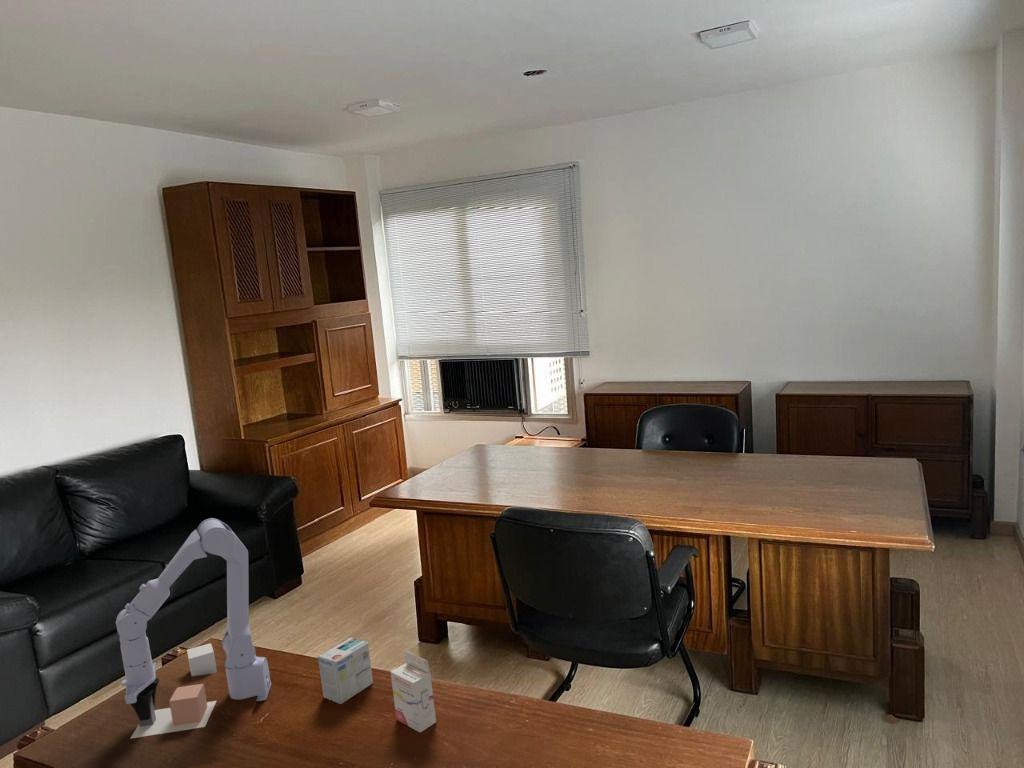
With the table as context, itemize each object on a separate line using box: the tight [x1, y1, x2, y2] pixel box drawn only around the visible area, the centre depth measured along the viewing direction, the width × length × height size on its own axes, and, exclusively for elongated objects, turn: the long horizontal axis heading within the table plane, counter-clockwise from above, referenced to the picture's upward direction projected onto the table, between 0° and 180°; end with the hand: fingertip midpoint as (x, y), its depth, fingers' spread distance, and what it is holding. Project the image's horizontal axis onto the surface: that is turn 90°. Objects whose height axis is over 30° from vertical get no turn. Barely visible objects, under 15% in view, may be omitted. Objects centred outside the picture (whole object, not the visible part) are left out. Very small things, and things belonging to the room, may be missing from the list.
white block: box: [186, 643, 218, 677], centre depth 202 cm, size 6×6×6 cm
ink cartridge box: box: [390, 650, 437, 733], centre depth 169 cm, size 9×5×15 cm, turn 47°
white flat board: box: [129, 696, 217, 739], centre depth 178 cm, size 16×11×7 cm
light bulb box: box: [317, 637, 374, 705], centre depth 185 cm, size 11×7×11 cm, turn 144°
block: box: [168, 683, 208, 726], centre depth 178 cm, size 6×6×6 cm
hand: (147, 716), depth 178 cm, fingers closed on white flat board, 2 cm apart
